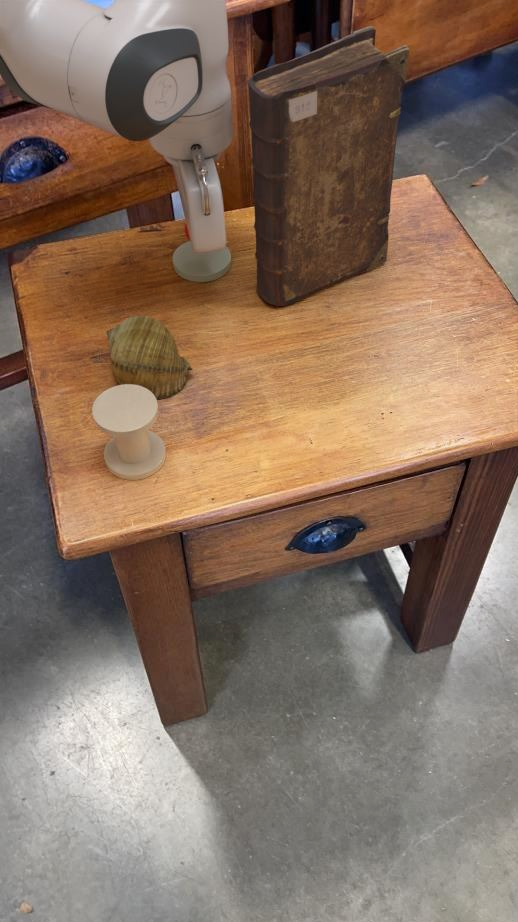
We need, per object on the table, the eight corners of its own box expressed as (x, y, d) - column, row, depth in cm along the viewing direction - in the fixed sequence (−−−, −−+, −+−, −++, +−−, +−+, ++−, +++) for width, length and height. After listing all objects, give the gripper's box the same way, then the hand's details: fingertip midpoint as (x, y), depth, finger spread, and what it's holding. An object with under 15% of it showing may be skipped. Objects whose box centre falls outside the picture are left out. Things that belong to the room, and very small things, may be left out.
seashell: (187, 403, 91) (207, 333, 89) (174, 413, 85) (195, 337, 82) (103, 375, 91) (121, 304, 89) (83, 382, 84) (102, 306, 82)
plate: (177, 285, 97) (176, 278, 96) (169, 249, 101) (168, 242, 100) (236, 278, 98) (235, 271, 97) (226, 242, 102) (225, 235, 101)
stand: (107, 484, 80) (94, 436, 74) (102, 438, 83) (89, 389, 77) (169, 474, 80) (161, 426, 75) (162, 429, 84) (153, 379, 78)
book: (271, 313, 94) (268, 95, 74) (240, 279, 98) (230, 61, 78) (391, 266, 99) (419, 50, 79) (357, 235, 103) (377, 20, 83)
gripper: (237, 174, 80) (242, 290, 91) (205, 71, 91) (213, 185, 103) (172, 182, 79) (185, 297, 90) (148, 77, 91) (162, 191, 102)
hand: (200, 237), depth 96 cm, fingers closed on strawberry, 3 cm apart
